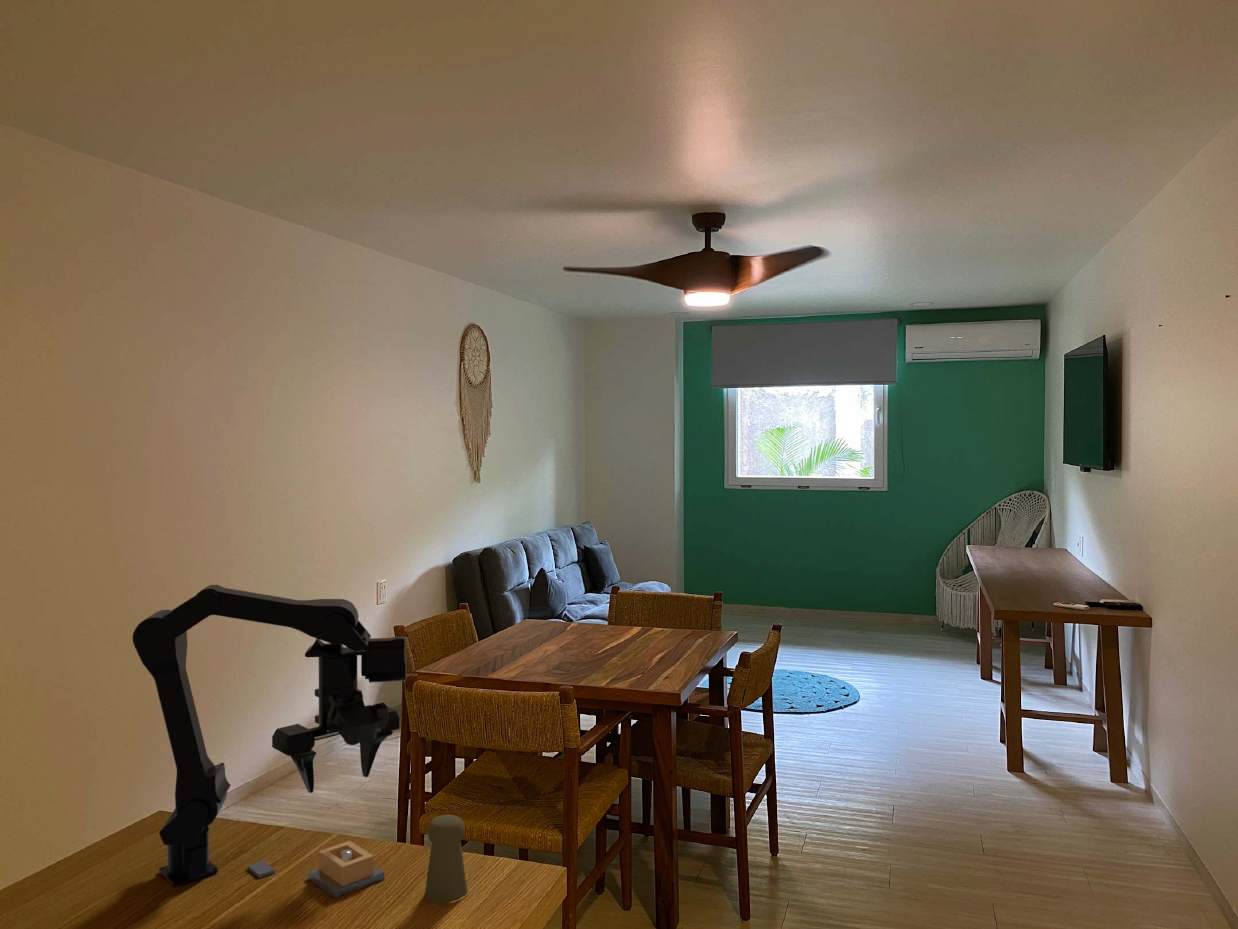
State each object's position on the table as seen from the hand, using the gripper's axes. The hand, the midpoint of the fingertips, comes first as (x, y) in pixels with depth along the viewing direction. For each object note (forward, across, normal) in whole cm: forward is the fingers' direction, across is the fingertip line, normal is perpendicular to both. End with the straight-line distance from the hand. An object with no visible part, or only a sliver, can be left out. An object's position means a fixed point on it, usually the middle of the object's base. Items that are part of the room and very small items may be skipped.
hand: (338, 784), depth 144 cm
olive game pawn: (+12, +6, -20) cm, 24 cm away
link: (+11, -2, -6) cm, 13 cm away
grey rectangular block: (+12, -10, +5) cm, 16 cm away
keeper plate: (+12, -2, -6) cm, 14 cm away
